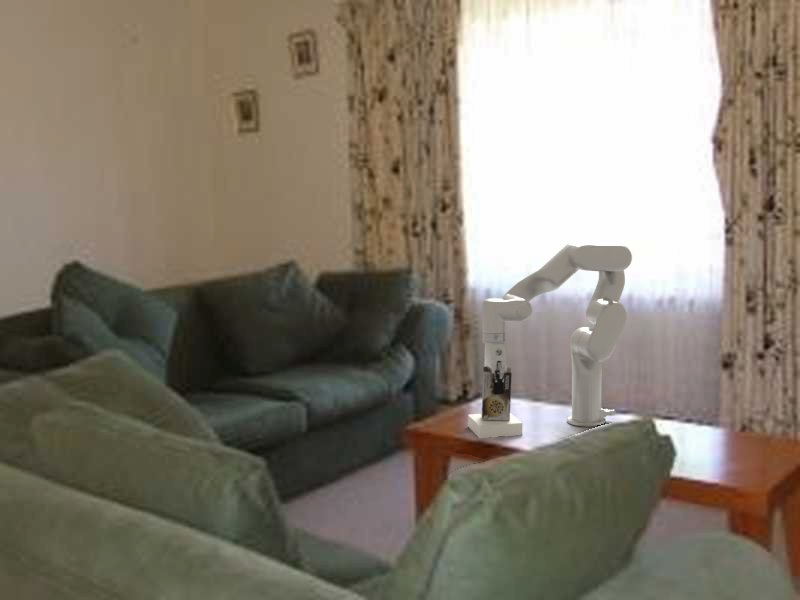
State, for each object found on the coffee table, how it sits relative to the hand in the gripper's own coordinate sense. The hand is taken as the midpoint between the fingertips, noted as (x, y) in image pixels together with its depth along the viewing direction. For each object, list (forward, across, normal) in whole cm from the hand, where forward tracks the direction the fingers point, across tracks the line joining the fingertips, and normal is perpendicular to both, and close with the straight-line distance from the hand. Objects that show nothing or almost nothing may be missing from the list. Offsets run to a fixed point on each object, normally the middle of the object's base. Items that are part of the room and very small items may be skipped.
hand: (494, 390), depth 309 cm
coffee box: (+9, 0, 0) cm, 9 cm away
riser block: (+13, 0, 0) cm, 13 cm away
